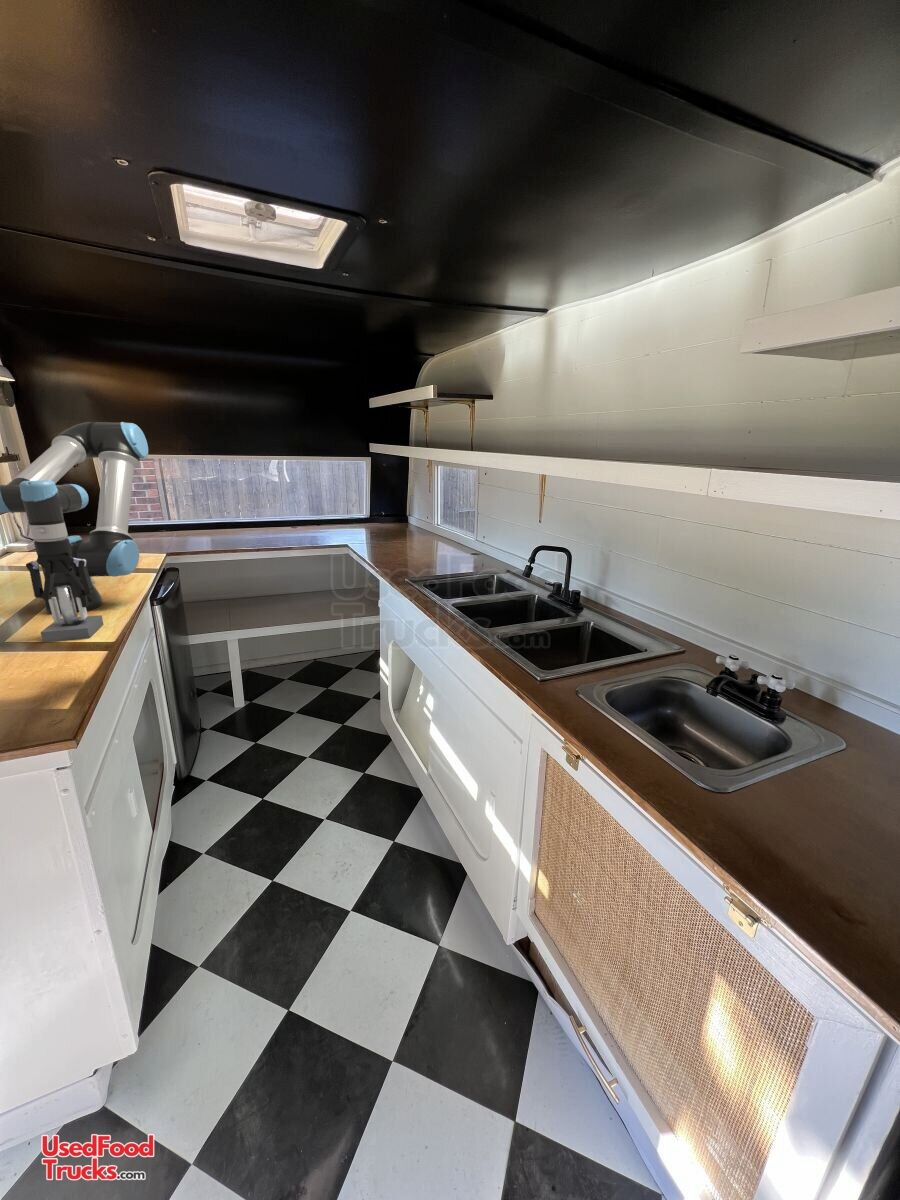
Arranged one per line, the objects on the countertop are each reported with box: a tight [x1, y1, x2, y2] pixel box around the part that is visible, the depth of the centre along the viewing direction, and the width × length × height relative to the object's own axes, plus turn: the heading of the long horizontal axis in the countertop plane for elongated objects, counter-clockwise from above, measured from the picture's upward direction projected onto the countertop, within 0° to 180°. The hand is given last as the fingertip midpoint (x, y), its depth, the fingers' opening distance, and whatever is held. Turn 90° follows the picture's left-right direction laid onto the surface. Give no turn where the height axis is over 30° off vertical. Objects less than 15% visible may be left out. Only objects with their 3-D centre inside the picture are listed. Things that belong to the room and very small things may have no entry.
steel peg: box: [55, 585, 80, 626], centre depth 137 cm, size 3×3×14 cm
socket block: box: [40, 614, 104, 643], centre depth 139 cm, size 11×11×3 cm
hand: (71, 618), depth 138 cm, fingers open, 6 cm apart
